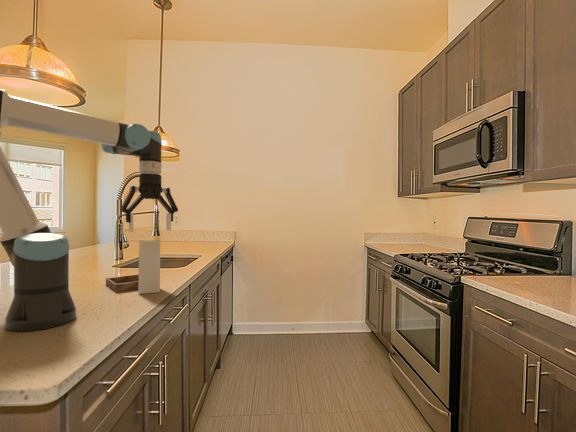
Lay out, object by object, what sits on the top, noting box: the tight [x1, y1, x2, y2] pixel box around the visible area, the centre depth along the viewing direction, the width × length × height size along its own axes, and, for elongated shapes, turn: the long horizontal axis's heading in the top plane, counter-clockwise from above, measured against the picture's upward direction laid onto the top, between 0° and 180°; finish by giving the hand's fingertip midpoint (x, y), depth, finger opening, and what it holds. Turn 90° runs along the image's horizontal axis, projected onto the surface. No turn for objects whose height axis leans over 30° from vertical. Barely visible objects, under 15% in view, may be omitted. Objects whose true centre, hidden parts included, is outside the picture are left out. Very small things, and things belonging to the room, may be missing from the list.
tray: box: [105, 273, 139, 293], centre depth 126 cm, size 14×14×3 cm
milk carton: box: [137, 239, 161, 295], centre depth 118 cm, size 7×7×19 cm
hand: (150, 231), depth 118 cm, fingers open, 13 cm apart
